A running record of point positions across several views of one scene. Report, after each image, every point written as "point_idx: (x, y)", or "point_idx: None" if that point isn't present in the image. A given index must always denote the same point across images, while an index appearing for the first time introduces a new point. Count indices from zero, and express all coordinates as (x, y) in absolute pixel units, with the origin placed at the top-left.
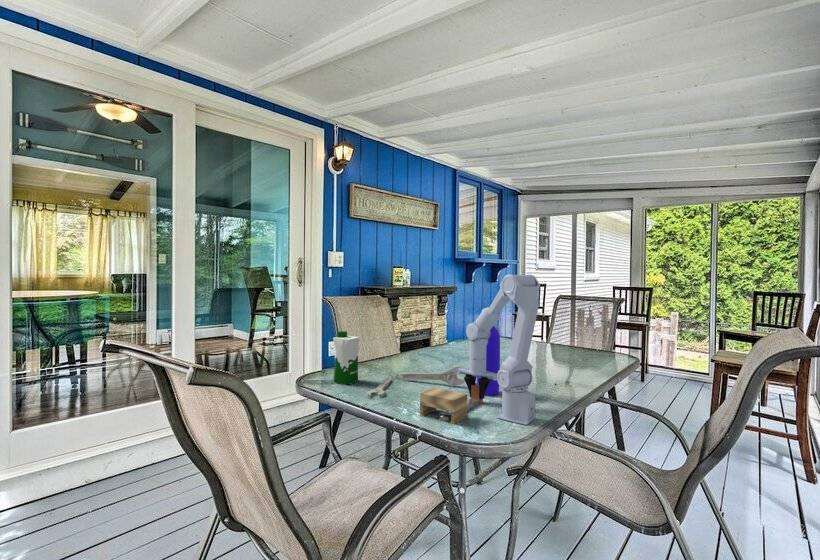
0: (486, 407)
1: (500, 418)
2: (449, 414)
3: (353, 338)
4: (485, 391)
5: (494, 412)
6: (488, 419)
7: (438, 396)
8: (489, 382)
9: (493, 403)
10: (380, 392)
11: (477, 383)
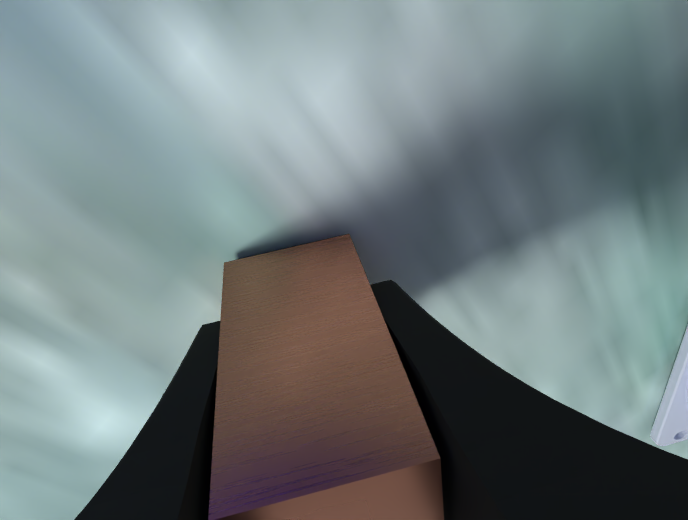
0: (476, 326)
1: (680, 436)
2: None
3: None
4: (449, 336)
5: (593, 363)
6: None
7: None
8: (648, 445)
9: (478, 151)
10: None
11: (283, 507)
